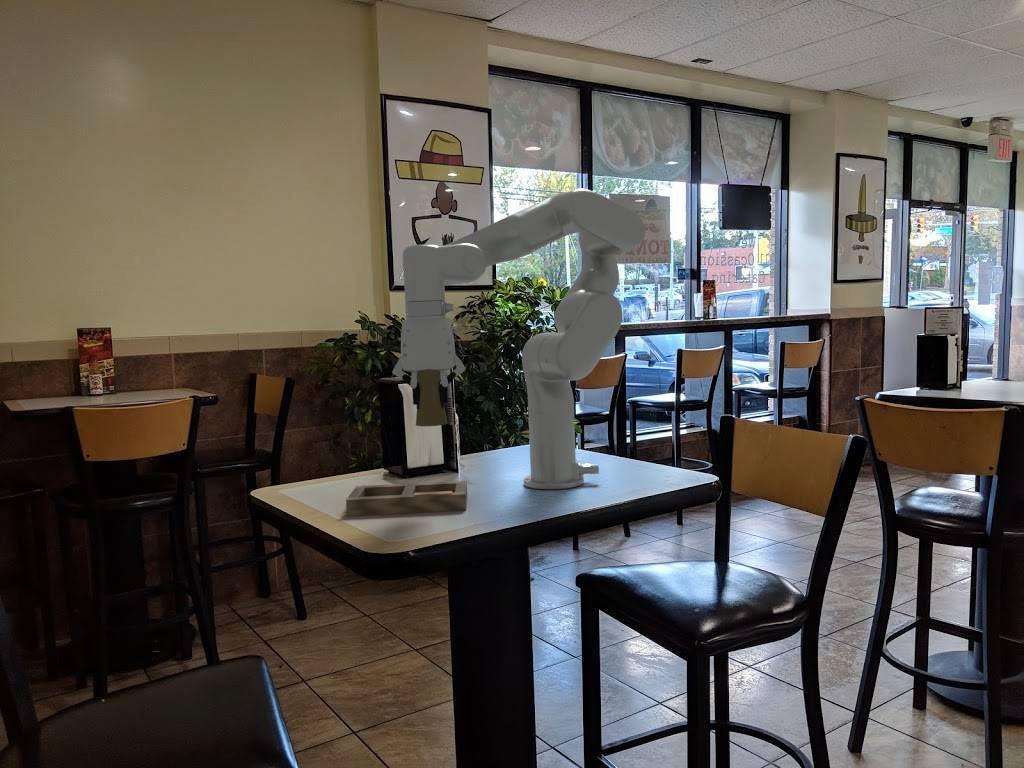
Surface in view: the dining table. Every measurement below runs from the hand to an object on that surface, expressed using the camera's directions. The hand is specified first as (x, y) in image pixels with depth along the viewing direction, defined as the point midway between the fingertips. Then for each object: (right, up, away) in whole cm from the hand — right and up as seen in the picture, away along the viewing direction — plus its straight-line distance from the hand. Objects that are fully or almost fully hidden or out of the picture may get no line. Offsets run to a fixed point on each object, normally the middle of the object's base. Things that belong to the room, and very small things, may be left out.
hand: (430, 406), depth 152 cm
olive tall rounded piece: (0, -3, 0) cm, 3 cm away
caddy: (-4, -19, +1) cm, 19 cm away
